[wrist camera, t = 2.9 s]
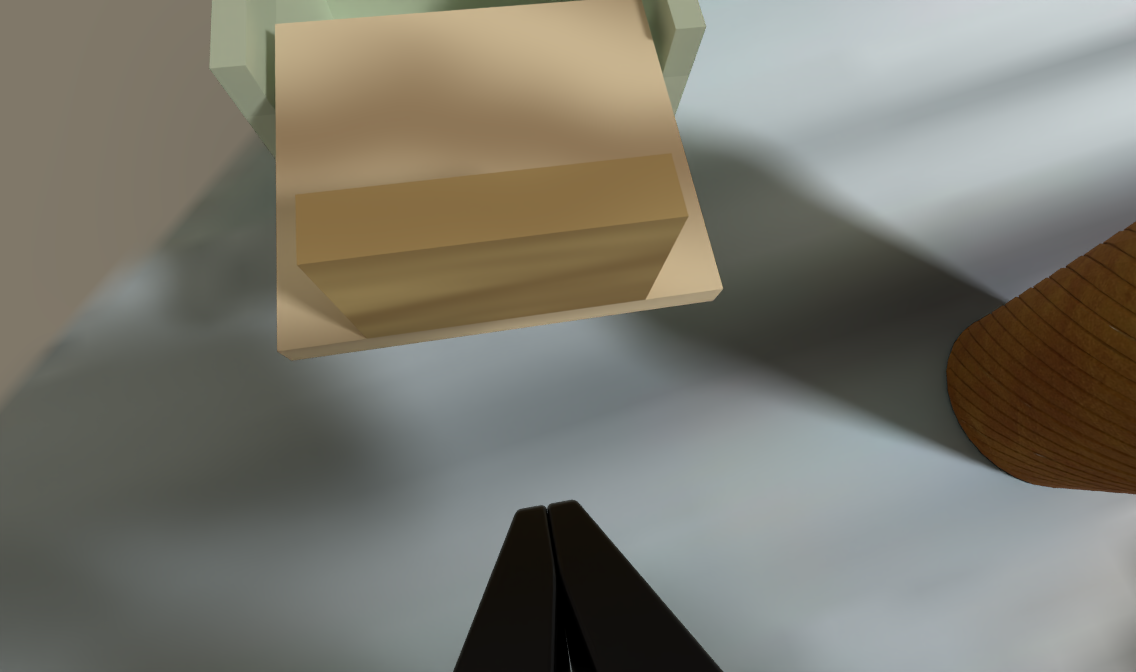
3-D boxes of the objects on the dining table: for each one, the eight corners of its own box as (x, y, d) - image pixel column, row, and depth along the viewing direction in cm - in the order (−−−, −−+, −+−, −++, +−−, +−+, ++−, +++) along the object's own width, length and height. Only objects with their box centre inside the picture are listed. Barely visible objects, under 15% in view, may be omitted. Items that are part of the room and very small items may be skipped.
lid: (713, 300, 13) (795, 203, 9) (291, 360, 12) (165, 280, 8) (636, 18, 15) (671, -156, 11) (286, 46, 14) (191, -134, 10)
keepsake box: (647, 194, 21) (706, 26, 14) (328, 232, 20) (209, 68, 12) (598, 2, 24) (626, -219, 17) (320, 23, 23) (220, -206, 15)
